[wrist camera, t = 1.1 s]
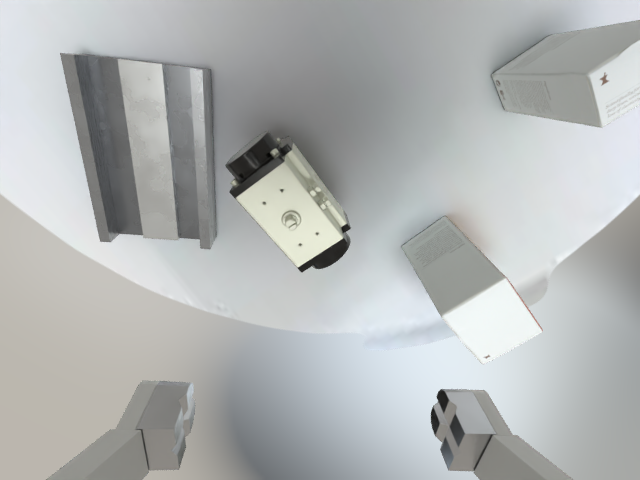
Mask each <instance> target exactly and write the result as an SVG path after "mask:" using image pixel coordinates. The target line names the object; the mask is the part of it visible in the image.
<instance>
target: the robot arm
mask: <svg viewBox="0 0 640 480" xmlns="http://www.w3.org/2000/svg"><path fill="white" fill-rule="evenodd" d="M193 392H194V387H193V383H185V382H167V381H142V382H141V383H140V384H139V385H138V387H137V389H136V391H135V393H134V395H133V397H132V399H131V401H130V402H129V404H128V406H127V408H126V410H125V412H124V414H123V416H122V418H121V420H120V422H119V424H118V426H117V428H116V429H115V430H109V431H108V432H106V433H105V434H104V435H103V436H101V437H100V438H99V439H98V440H96V441H95V442H94V443H92V444H91V445H90V446H89V447H87V448H86V449H85V450H83V451H82V452H81V453H80V454H78V455H77V456H76V457H74V458H73V459H72V460H71V461H69V462H68V463H67V464H66V465H64V466H63V467H62V468H60V469H59V470H58V471H57V472H55V473H54V474H53V475H52V476H50V477H49V478H48V479H46V480H142V479H143V478H144V477H145V476H146V475H147V474H148V472H149V471H148V470H179V468H180V465H181V461H182V458H183V455H184V452H185V448H186V443H185V437H186V436H187V435H188V434H189V433H190V432H191V428H192V424H193V420H194V415H195V400H194V399H193V398H192V395H193ZM437 399H438V403H436V404H435V405H434V406H433V408H432V411H431V424H432V429H433V431H434V434H435V436H436V437H437V438H438V439H439V440H440V441H441V442H442V445H441V449H440V450H441V453H442V455H443V458H444V460H445V463H446V465H447V468H448V470H450V471H474V474H475V475H476V476H477V477H478V478H479V479H480V480H573V479H572V478H571V477H569V476H568V475H567V474H566V473H564V472H563V471H562V470H561V469H559V468H558V467H557V466H555V465H554V464H553V463H552V462H550V461H549V460H548V459H547V458H545V457H544V456H543V455H542V454H540V453H539V452H538V451H536V450H535V449H534V448H532V447H531V446H530V445H529V444H528V443H526V442H525V441H524V440H522V439H521V438H520V437H519V436H517V435H513V434H512V433H511V431H510V429H509V428H508V426H507V425H506V423H505V421H504V420H503V418H502V417H501V415H500V413H499V411H498V410H497V408H496V406H495V405H494V403H493V401H492V400H491V398H490V396H489V395H488V393H487V392H486V391H484V390H466V389H462V390H461V389H459V390H458V389H441V390H440V391H439V392H438V394H437Z"/></svg>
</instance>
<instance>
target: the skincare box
mask: <svg viewBox="0 0 640 480" xmlns="http://www.w3.org/2000/svg"><path fill="white" fill-rule="evenodd" d="M492 78H493V80H494V83H495V86H496V89H497V91H498V94H499V97H500V99H501V102H502V104H503V107H504V109H505V110H506V111H508V112H514V113H519V114H525V115H531V116H537V117H543V118H549V119H554V120H560V121H566V122H571V123H578V124H584V125H589V126H595V127H600V128H602V127H604V126H606V125H608V124H609V123H611V122H612V121H614V120H616V119H617V118H619V117H621V116H622V115H624V114H625V113H627V112H629V111H630V110H632V109H634V108H635V107H637V106H638V105H640V20H637V21H631V22H625V23H619V24H613V25H607V26H601V27H595V28H589V29H583V30H577V31H571V32H565V33H559V34H553V35H549V36H548V37H546V38H545V39H543V40H542V41H540V42H539V43H538V44H536V45H535V46H533V47H532V48H530V49H529V50H527V51H526V52H524V53H523V54H521V55H520V56H518V57H517V58H515V59H514V60H512V61H511V62H509V63H508V64H506V65H505V66H503V67H502V68H500V69H499V70H497V71H496V72H494V73H493V74H492Z"/></svg>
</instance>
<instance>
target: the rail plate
mask: <svg viewBox="0 0 640 480" xmlns="http://www.w3.org/2000/svg"><path fill="white" fill-rule="evenodd" d="M60 55H61V60H62V65H63V69H64V74H65V79H66V83H67V88H68V93H69V97H70V102H71V107H72V111H73V116H74V121H75V126H76V130H77V135H78V140H79V144H80V149H81V154H82V158H83V163H84V168H85V172H86V177H87V182H88V187H89V191H90V196H91V201H92V205H93V210H94V215H95V219H96V224H97V229H98V233H99V238H100V242H111V241H112V240H113V239H114V238H115V237H117V236H118V235H119V234H133V235H143V238H152V239H166V240H179V238H190V239H200V248H202V249H210V248H211V246H212V244H213V242H214V240H215V238H216V210H215V180H214V151H213V122H212V92H211V69H203V68H195V67H186V66H178V65H170V64H161V63H153V62H145V61H136V60H128V59H120V58H111V57H103V56H95V55H86V54H71V53H60Z"/></svg>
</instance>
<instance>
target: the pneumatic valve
mask: <svg viewBox="0 0 640 480" xmlns="http://www.w3.org/2000/svg"><path fill="white" fill-rule="evenodd" d="M225 166H226V168H227V169H228V170H229V171H230V172H231V173H232V175H233V176H234V177H235V178H236V179H234V180H233V181H232V182H231V184H232V188H231V190H230V193H231V194H232V195H233V197H234V198H235V199H236V200H237V201H238V202H239V203H240V204H241V206H242V207H243V208H244V209H245V210H246V211H247V212H248V213H249V214H250V216H251V217H252V218H253V219H254V220H255V221H256V222H257V223H258V224H259V226H260V227H261V228H262V229H263V230H264V231H265V232H266V233H267V235H268V236H269V237H270V238H271V239H272V240H273V241H274V242H275V243H276V245H277V246H278V247H279V248H280V249H281V250H282V251H283V252H284V253H285V255H286V256H287V257H288V258H289V259H290V260H291V261H292V262H293V264H294V265H295V266H296V267H297V268H298V269H299V270H300V271H301V272H303V271H305V270H307V269H308V268H310V267H311V266H312V267H313V268H315V269H322V268H326V267H328V266H330V265H332V264H333V263H335V262H336V261H338V260H339V259H340V258H341V257H342V256H343V255H344V254H345V252H346V251H347V250H348V248H349V245H350V237H349V236H348V235H347V233H346V231H348V230H349V229H350V228H351V227H350V224H349V221H348V218H347V215H346V213H345V212H344V210H343V209H342V208H341V206H340V205H339V204H338V202H337V201H336V200H335V198H334V197H333V196H332V194H331V193H330V191H329V190H328V189H327V187H326V186H325V185H324V183H323V182H322V181H321V179H320V178H319V177H318V175H317V174H316V173H315V171H314V170H313V168H312V167H311V166H310V164H309V163H308V162H307V160H306V159H305V158H304V156H303V155H302V154H301V152H300V151H299V149H298V148H297V147H296V145H295V144H294V143H293V141H292V140H291V139H290V137H289V136H287V137H286V138H285V139H284V138H282V139H281V140H280V139H279V138H277V139H276V140H275V139H274V137H273V136H272V135H271V134H270V132H269V131H266V132H264V133H262V134H261V135H259V136H258V137H256V138H255V139H254V140H252V141H251V142H250V143H248V144H247V145H246V146H245V147H243V148H242V149H241V150H240V151H239V152H238V153H236V154H235V155H234V156H233V157H232V158H231V159H230V160H229V161H228V162H227V163H226V165H225Z"/></svg>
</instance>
